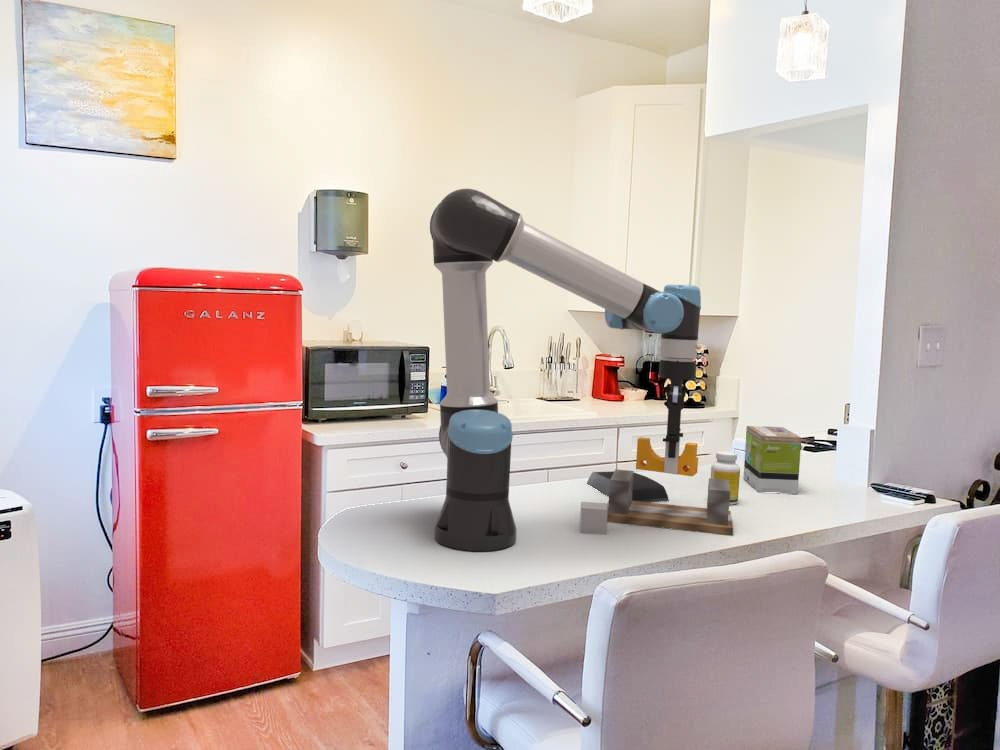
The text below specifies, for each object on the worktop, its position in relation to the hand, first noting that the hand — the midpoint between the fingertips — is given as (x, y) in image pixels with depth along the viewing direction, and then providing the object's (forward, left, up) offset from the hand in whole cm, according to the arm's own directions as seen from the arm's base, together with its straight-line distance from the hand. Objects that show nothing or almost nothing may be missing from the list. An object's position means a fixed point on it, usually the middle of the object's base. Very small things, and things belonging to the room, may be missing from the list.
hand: (671, 469), depth 167 cm
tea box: (+24, +43, -11) cm, 50 cm away
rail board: (0, 0, -11) cm, 11 cm away
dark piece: (-11, +21, -11) cm, 26 cm away
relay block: (-14, -14, -11) cm, 23 cm away
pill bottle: (+12, +21, -11) cm, 27 cm away
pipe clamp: (-1, 0, -1) cm, 1 cm away
